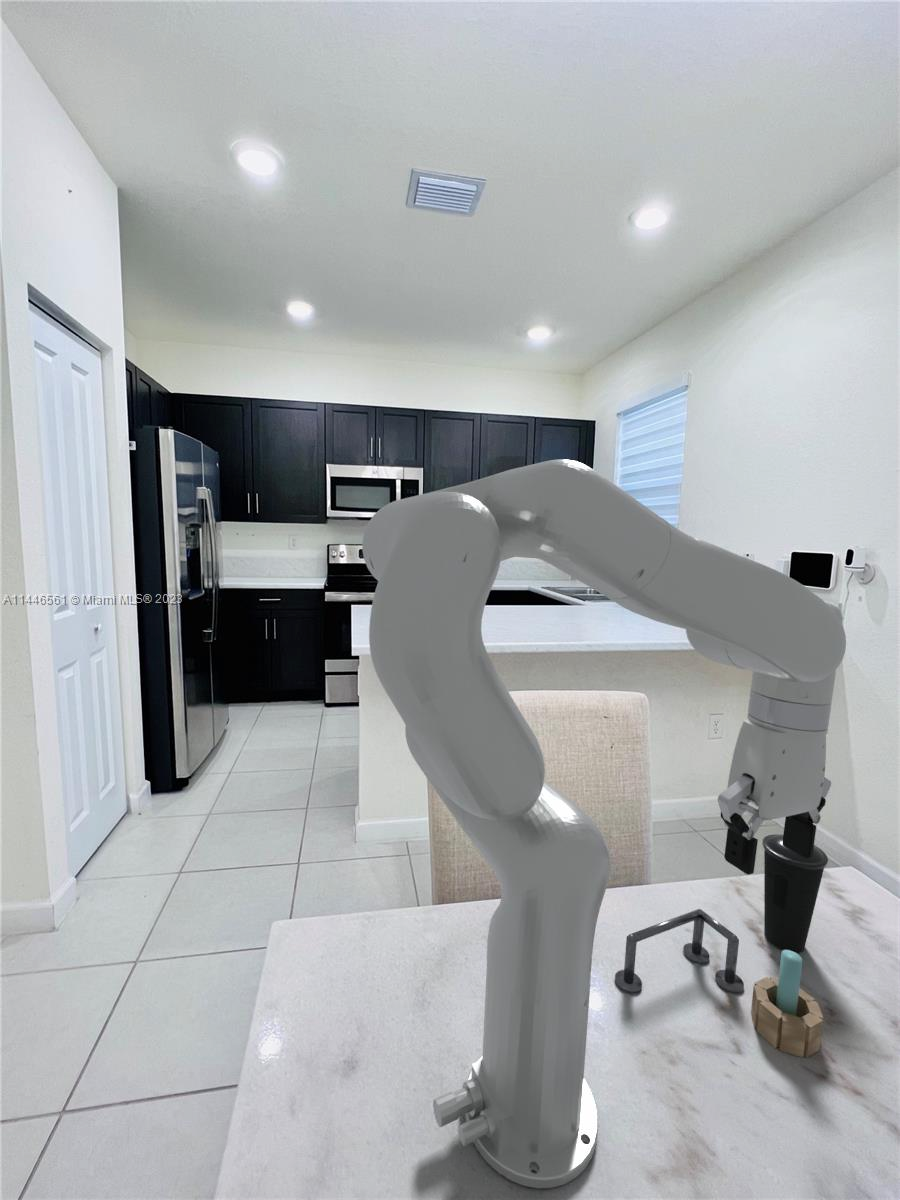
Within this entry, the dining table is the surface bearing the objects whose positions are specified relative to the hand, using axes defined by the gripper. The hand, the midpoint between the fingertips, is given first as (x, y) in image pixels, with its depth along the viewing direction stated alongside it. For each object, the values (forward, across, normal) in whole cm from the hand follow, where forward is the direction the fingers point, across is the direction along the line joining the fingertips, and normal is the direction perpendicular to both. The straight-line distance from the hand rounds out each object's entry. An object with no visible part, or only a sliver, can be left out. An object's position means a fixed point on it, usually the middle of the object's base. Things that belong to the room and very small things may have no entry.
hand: (768, 859), depth 60 cm
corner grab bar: (+20, +3, -7) cm, 21 cm away
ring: (+20, -3, +2) cm, 20 cm away
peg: (+20, -3, +2) cm, 20 cm away
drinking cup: (+20, -17, -7) cm, 27 cm away
